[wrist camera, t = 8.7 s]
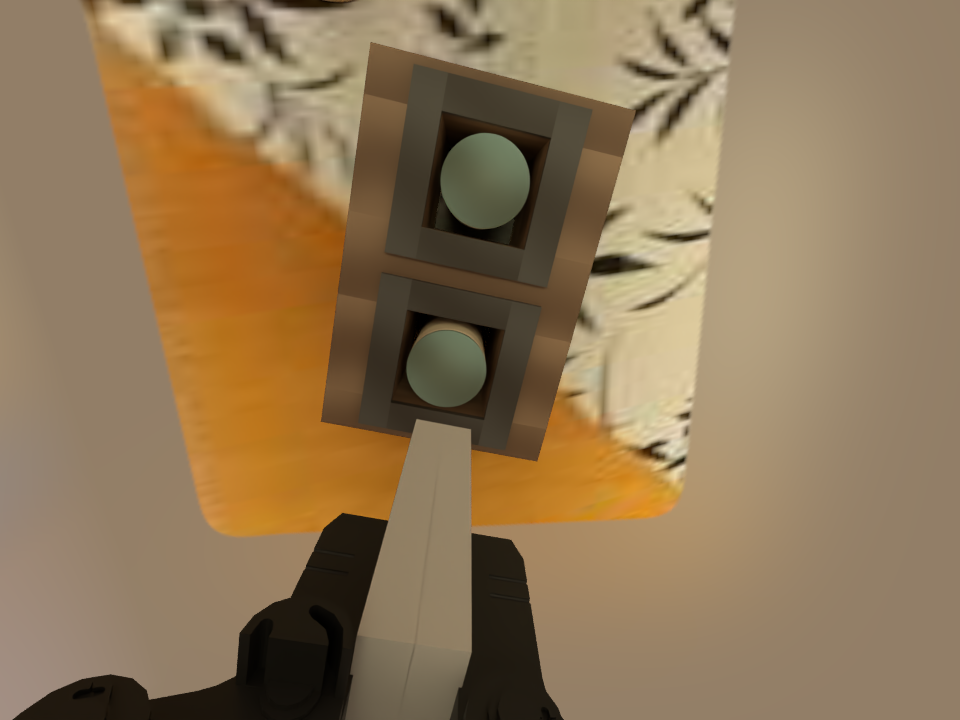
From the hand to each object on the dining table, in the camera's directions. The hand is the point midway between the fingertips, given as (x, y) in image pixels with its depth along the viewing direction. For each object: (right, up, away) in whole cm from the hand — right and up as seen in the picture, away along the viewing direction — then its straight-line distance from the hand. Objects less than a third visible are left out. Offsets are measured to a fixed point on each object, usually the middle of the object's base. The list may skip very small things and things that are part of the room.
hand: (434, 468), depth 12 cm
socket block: (0, +9, +17) cm, 20 cm away
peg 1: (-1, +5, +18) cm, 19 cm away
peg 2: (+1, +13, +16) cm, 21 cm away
